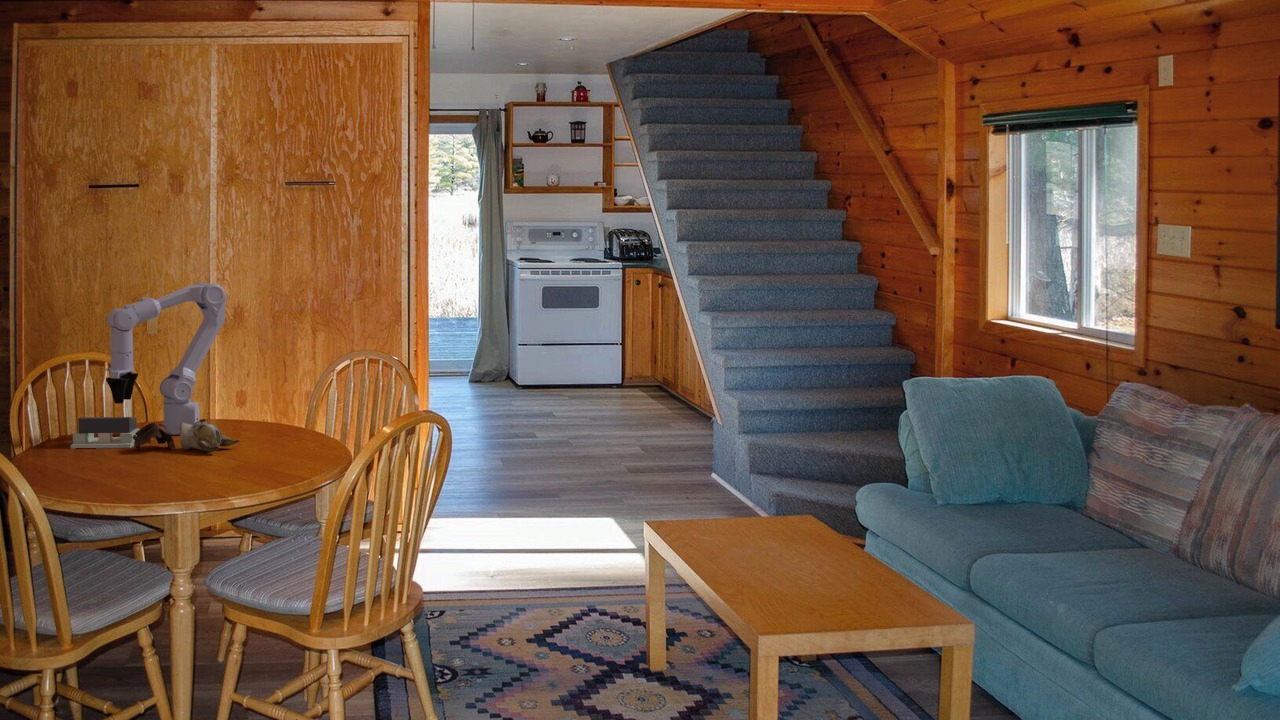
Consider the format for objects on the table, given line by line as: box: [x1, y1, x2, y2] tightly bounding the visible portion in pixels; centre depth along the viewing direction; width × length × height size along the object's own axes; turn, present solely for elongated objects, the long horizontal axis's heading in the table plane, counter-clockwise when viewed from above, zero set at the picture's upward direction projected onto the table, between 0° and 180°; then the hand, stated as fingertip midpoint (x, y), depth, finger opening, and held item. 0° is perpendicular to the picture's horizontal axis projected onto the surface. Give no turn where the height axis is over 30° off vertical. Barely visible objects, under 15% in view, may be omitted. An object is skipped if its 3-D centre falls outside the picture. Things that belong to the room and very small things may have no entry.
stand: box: [70, 428, 141, 450], centre depth 332 cm, size 15×11×4 cm
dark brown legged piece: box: [132, 421, 176, 451], centre depth 327 cm, size 12×10×8 cm
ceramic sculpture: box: [179, 418, 240, 453], centre depth 325 cm, size 11×9×15 cm
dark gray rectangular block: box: [77, 416, 138, 434], centre depth 333 cm, size 13×7×4 cm, turn 98°
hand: (122, 401), depth 339 cm, fingers open, 7 cm apart
